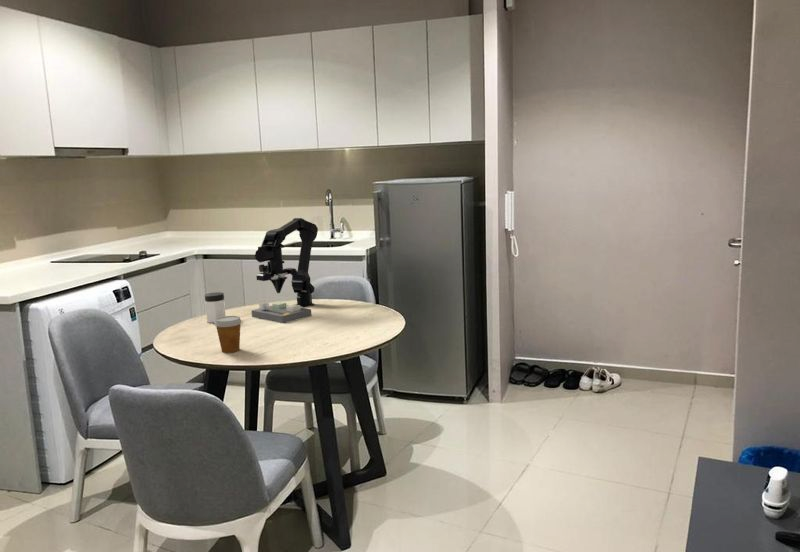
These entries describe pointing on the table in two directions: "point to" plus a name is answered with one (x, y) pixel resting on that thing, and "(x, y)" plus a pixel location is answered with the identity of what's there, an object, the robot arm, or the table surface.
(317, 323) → the table surface
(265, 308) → the slider knob
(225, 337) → the disposable coffee cup
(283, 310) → the control panel
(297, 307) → the offwhite button
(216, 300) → the jar
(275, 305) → the sage button
